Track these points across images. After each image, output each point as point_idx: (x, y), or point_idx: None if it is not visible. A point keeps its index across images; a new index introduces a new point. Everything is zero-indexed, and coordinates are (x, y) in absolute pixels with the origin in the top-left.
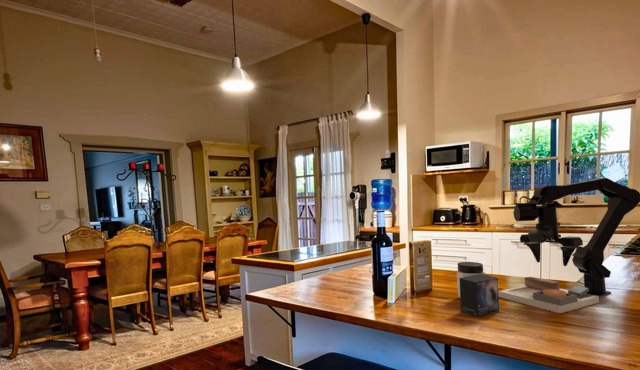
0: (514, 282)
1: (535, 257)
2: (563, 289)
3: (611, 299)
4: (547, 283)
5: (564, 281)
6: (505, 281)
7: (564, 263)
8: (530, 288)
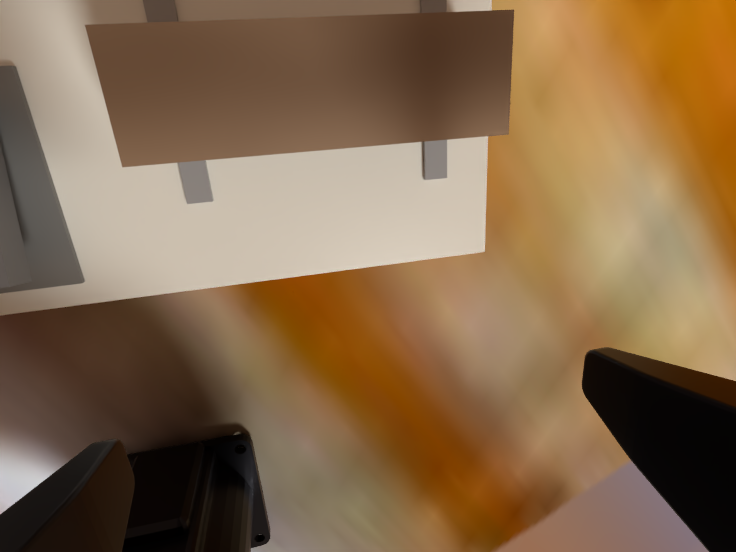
0: (665, 259)
1: (692, 375)
2: (219, 272)
3: (6, 458)
4: (184, 25)
5: (482, 548)
6: (722, 225)
7: (60, 473)
8: (390, 13)
